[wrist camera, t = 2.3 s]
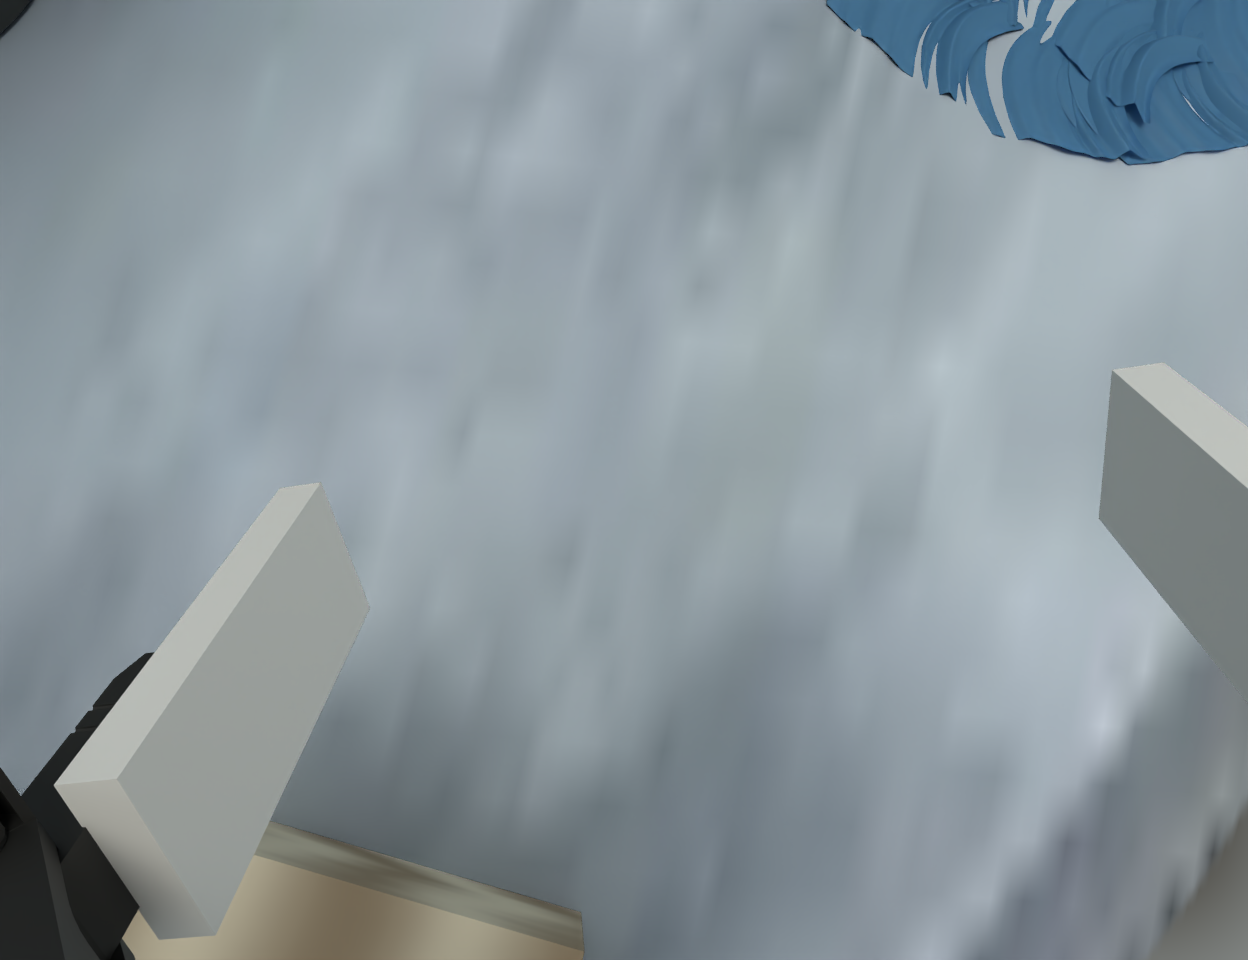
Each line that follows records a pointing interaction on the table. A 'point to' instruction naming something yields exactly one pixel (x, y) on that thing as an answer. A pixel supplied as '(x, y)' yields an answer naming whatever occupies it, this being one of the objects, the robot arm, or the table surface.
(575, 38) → the table surface
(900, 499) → the table surface
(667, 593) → the table surface
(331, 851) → the birch block
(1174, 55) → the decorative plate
